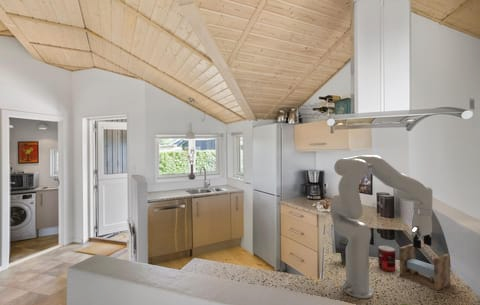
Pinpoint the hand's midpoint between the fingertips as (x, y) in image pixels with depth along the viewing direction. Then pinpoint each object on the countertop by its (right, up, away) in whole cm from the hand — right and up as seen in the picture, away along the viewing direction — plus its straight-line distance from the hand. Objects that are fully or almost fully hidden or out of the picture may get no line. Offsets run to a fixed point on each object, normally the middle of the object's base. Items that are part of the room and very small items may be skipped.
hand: (422, 246), depth 121 cm
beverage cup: (-30, -17, +19) cm, 39 cm away
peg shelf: (+1, -16, 0) cm, 16 cm away
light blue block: (+1, -12, 0) cm, 12 cm away
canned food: (-10, -17, +12) cm, 23 cm away
